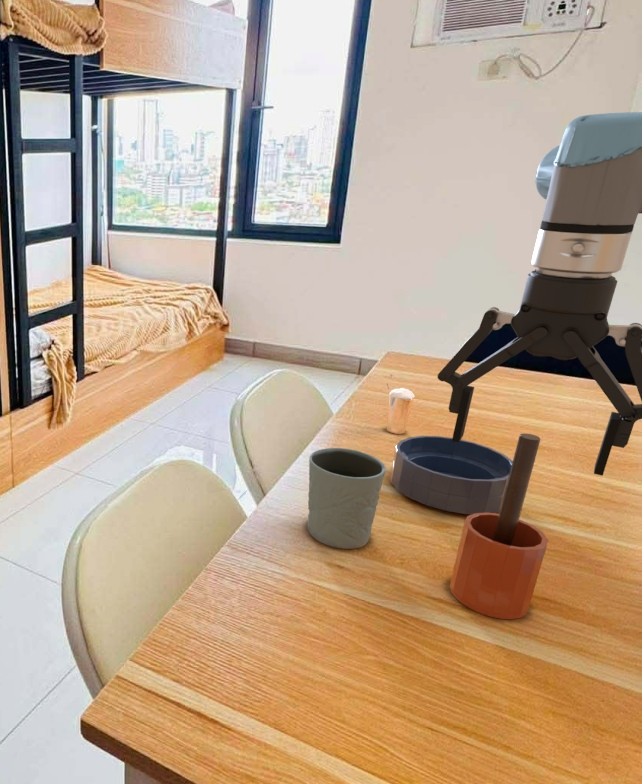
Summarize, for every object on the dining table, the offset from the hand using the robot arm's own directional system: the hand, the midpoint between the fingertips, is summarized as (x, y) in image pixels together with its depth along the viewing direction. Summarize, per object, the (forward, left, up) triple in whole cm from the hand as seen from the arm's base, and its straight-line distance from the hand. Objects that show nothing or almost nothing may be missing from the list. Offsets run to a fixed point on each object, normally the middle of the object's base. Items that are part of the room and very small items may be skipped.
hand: (523, 453), depth 74 cm
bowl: (+10, -28, -20) cm, 36 cm away
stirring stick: (0, 0, -20) cm, 20 cm away
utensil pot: (0, 0, -20) cm, 20 cm away
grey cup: (+20, -3, -21) cm, 29 cm away
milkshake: (+24, -50, -21) cm, 59 cm away
